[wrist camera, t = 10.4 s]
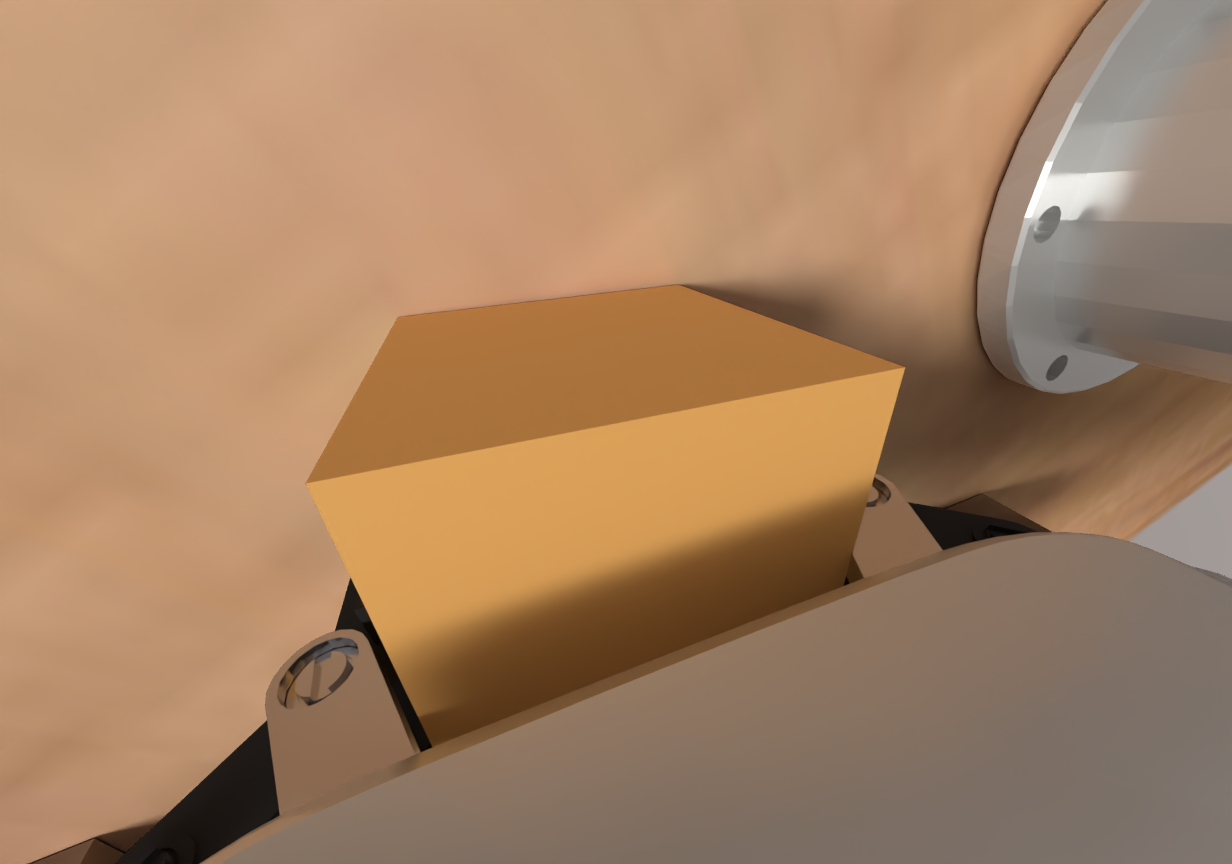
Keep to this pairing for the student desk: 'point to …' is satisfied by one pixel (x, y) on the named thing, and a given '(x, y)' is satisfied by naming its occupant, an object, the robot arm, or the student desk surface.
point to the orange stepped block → (592, 488)
